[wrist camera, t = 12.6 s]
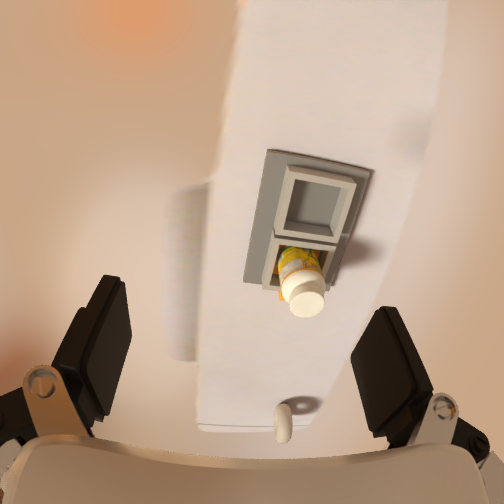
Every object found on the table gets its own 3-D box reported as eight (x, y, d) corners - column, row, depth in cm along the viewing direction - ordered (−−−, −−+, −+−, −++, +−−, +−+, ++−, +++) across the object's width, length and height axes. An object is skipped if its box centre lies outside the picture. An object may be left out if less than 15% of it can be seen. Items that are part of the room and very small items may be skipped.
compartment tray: (267, 149, 35) (269, 159, 31) (366, 169, 36) (379, 181, 33) (243, 277, 45) (243, 297, 42) (327, 286, 47) (333, 305, 43)
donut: (276, 395, 64) (279, 434, 56) (291, 395, 64) (295, 433, 56) (272, 414, 70) (274, 449, 61) (286, 414, 70) (289, 448, 61)
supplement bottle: (269, 251, 41) (275, 299, 33) (305, 234, 40) (320, 279, 32) (287, 279, 44) (295, 328, 36) (321, 263, 43) (337, 310, 34)
